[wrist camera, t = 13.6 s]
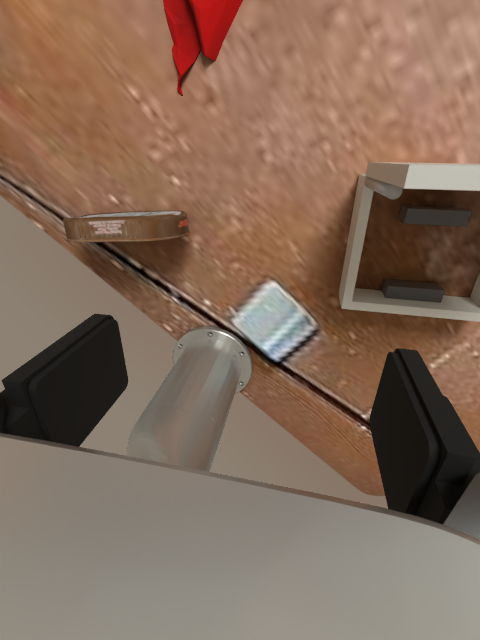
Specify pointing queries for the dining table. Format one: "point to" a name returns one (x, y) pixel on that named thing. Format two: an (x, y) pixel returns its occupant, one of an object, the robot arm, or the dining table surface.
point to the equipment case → (390, 184)
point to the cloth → (198, 29)
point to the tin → (127, 226)
